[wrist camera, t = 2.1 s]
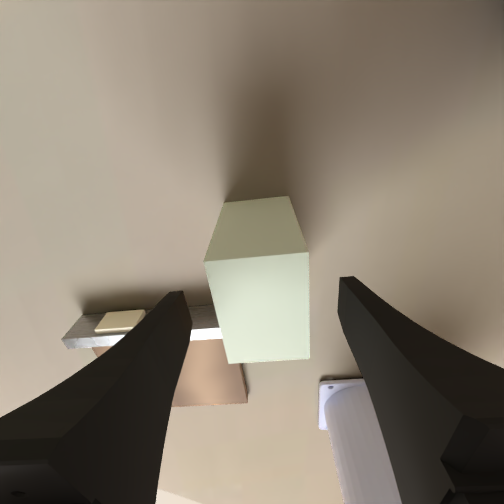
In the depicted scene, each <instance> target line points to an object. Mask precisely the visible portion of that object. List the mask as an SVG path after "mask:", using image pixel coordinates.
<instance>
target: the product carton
mask: <svg viewBox="0 0 504 504" xmlns="http://www.w3.org/2000/svg"><path fill="white" fill-rule="evenodd" d="M204 266H205V270H206V274H207V278H208V282H209V286H210V290H211V294H212V299H213V303H214V307H215V311H216V315H217V319H218V323H219V327H220V331H221V335H222V339H223V343H224V347H225V351H226V355H227V359H228V364H234V363H250V362H267V361H283V360H299V359H310V332H309V251H308V248H307V246H306V243H305V240H304V237H303V234H302V232H301V229H300V226H299V223H298V221H297V218H296V215H295V212H294V209H293V207H292V204H291V201H290V198H289V196H281V197H272V198H262V199H253V200H244V201H235V202H225V203H224V204H223V207H222V210H221V213H220V215H219V218H218V221H217V224H216V227H215V230H214V233H213V236H212V239H211V241H210V244H209V247H208V250H207V253H206V256H205V259H204Z"/></svg>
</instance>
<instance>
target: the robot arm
mask: <svg viewBox="0 0 504 504" xmlns="http://www.w3.org/2000/svg"><path fill="white" fill-rule="evenodd" d="M338 315H339V319H340V322H341V326H342V329H343V332H344V335H345V337H346V339H347V342H348V344H349V346H350V349H351V351H352V353H353V356H354V358H355V360H356V362H357V365H358V367H359V369H360V372H361V374H362V376H363V378H364V379H347V380H329V381H322V382H320V383H319V413H318V425H319V428H320V429H322V430H328V433H329V438H330V443H331V447H332V452H333V456H334V461H335V465H336V470H337V474H338V479H339V483H340V488H341V493H342V497H343V502H344V504H504V369H503V368H501V367H499V366H497V365H494V364H492V363H490V362H488V361H485V360H483V359H481V358H479V357H477V356H475V355H473V354H471V353H469V352H467V351H465V350H463V349H461V348H459V347H457V346H455V345H453V344H451V343H449V342H447V341H445V340H444V339H442V338H440V337H438V336H437V335H435V334H433V333H431V332H430V331H428V330H426V329H425V328H423V327H421V326H420V325H418V324H417V323H415V322H413V321H412V320H410V319H409V318H408V317H406V316H405V315H403V314H402V313H400V312H399V311H397V310H396V309H395V308H393V307H392V306H390V305H389V304H388V303H386V302H385V301H384V300H383V299H381V298H380V297H379V296H377V295H376V294H375V293H374V292H372V291H371V290H370V289H369V288H368V287H366V286H365V285H364V284H363V283H362V282H360V281H359V280H358V279H357V278H355V277H354V276H350V277H340V281H339V297H338ZM192 325H193V322H192V319H191V315H190V312H189V309H188V306H187V303H186V300H185V296H184V293H183V291H174V292H169V293H168V294H167V295H166V296H165V297H164V298H163V299H162V300H161V301H160V302H159V303H158V304H157V305H156V306H155V307H154V308H153V309H152V310H151V311H150V312H149V313H148V314H147V315H146V316H145V317H144V318H143V319H142V320H141V321H140V322H139V323H138V324H137V325H136V326H135V327H133V328H132V329H131V330H130V331H129V332H128V333H127V334H126V335H125V336H124V337H122V338H121V339H120V340H119V341H118V342H117V343H116V344H114V345H113V346H112V347H111V348H109V349H108V350H107V351H106V352H104V353H103V354H102V355H100V356H99V357H98V358H97V359H95V360H94V361H92V362H91V363H90V364H88V365H87V366H85V367H84V368H82V369H81V370H80V371H78V372H77V373H75V374H74V375H72V376H71V377H69V378H68V379H66V380H65V381H63V382H62V383H60V384H58V385H57V386H55V387H54V388H52V389H50V390H49V391H47V392H45V393H44V394H42V395H40V396H39V397H37V398H35V399H33V400H32V401H30V402H28V403H26V404H25V405H23V406H21V407H19V408H17V409H15V410H13V411H12V412H10V413H8V414H6V415H4V416H2V417H1V418H0V504H155V502H156V494H157V487H158V480H159V473H160V467H161V461H162V454H163V448H164V443H165V437H166V431H167V426H168V421H169V416H170V411H171V406H172V401H173V397H174V393H175V389H176V386H177V383H178V380H179V376H180V373H181V370H182V367H183V363H184V360H185V357H186V353H187V350H188V347H189V343H190V338H191V332H192Z"/></svg>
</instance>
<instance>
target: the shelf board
mask: <svg viewBox="0 0 504 504" xmlns="http://www.w3.org/2000/svg"><path fill="white" fill-rule="evenodd" d="M188 309H189V312H190V315H191V319H192V322H193V325H192V332H191V338H190V343H189V347H188V350H187V353H186V357H185V360H184V363H183V367H182V370H181V373H180V376H179V380H178V383H177V386H176V389H175V393H174V397H173V401H172V406H171V407H183V406H202V405H222V404H242V403H248V394H247V389H246V384H245V379H244V375H243V370H242V365H241V363H234V364H228V359H227V355H226V351H225V347H224V343H223V339H222V335H221V331H220V327H219V323H218V319H217V315H216V311H215V307H214V305H202V306H189V307H188ZM151 310H152V309H151ZM151 310H131V311H118V312H107V313H101V314H88V315H82V316H81V317H80V318H79V319H78V320H77V322H76V323H75V324H74V325H73V326H72V328H71V329H70V330H69V331H68V332H67V333H66V335H65V336H64V337H63V338H62V339H61V340H62V341H63V342H64V344H65V345H66V347H67V348H68V349H73V348H88V347H92V349H93V351H94V352H95V354H96V355H97V357H99V356H100V355H102V354H103V353H104V352H106V351H107V350H108V349H109V348H111V347H112V346H113V345H114V344H116V343H117V342H118V341H119V340H120V339H121V338H122V337H124V336H125V335H126V334H127V333H128V332H129V331H130V330H131V329H132V328H133V327H135V326H136V325H137V324H138V323H139V322H140V321H141V320H142V319H143V318H144V317H145V316H146V315H147V314H148V313H149V312H150V311H151Z"/></svg>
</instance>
